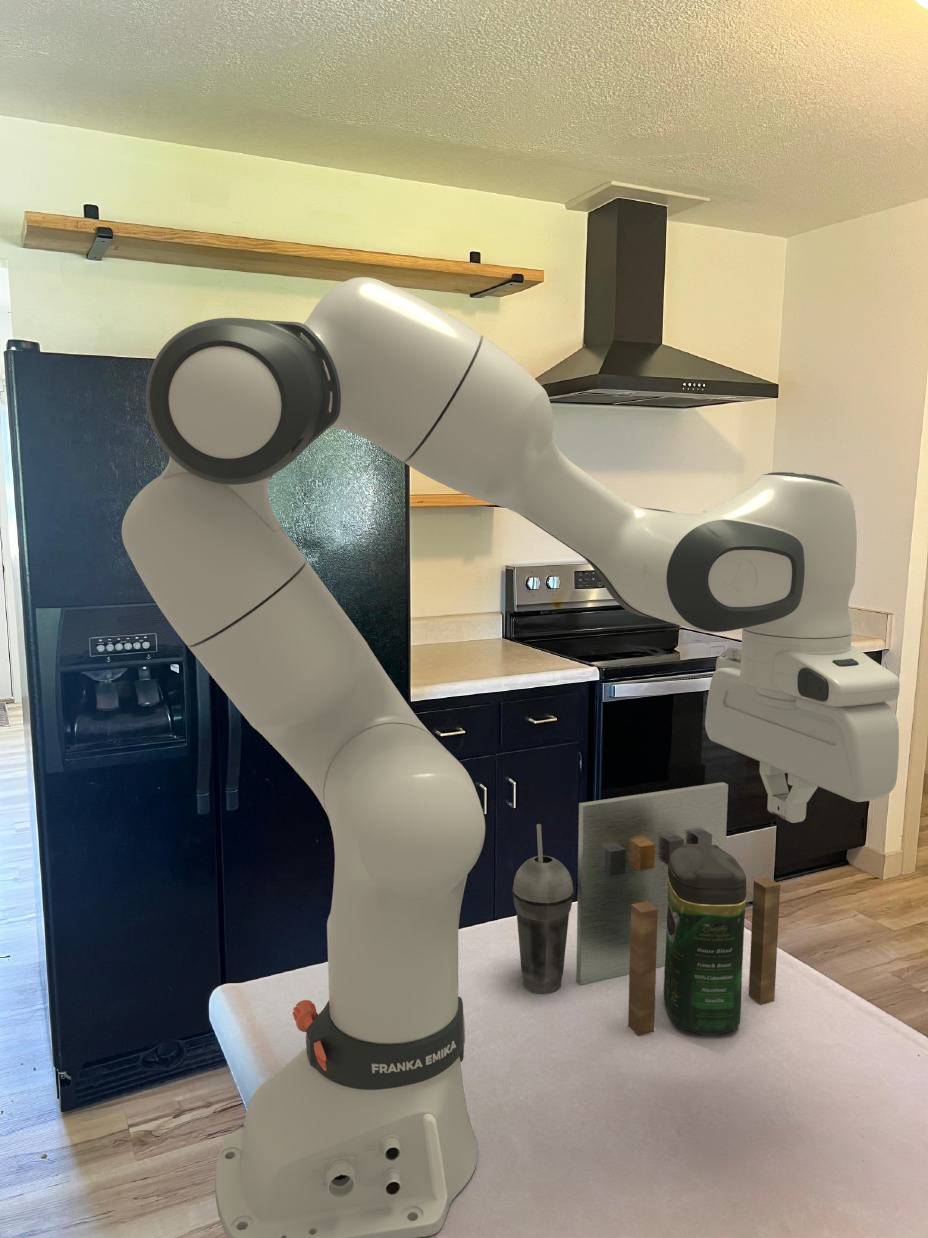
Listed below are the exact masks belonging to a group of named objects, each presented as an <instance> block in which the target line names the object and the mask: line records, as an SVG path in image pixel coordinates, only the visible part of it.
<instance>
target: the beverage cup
mask: <svg viewBox="0 0 928 1238" xmlns="http://www.w3.org/2000/svg"><path fill="white" fill-rule="evenodd" d="M536 835H537V836H536V837H537V838H536V839H537V855H536V856H533V857H531V858H529V859H527V860H525V861H524V863H522V864H521V865H520V867H518V869H517V871H516V873H515V875H514V879H513V885H512V888H511V893H512V895H513V904H514V908H515V910H516V920H517V922H516V923H517V932H518V934H517V935H518V944H519V946H518V947H519V958H520V969H521V974H522V979H523V980H522V982H523V983H522V985H523V986H524V988H525V989H526V990H527V991H529V992H531V993H534V994H539V995H547V994H552V993H555V992H558V990H560V988H561V987H562V979H563V975H564V967H565V955H566V948H567V947H566V946H567V938H568V937H567V936H568V928H569V927H568V926H569V917H570V913H571V909H572V906H573V905H572V904H573V898H574V897H575V889H574V886H573V884H574V883H573V879H572V876H571V874H570V872H569V870H568V869H567V867H566V866H565V865H564V864H563V863H562V862H561V861H560V860H559V859H556V858H555V857H553V856H548V855H543V840H542V839H543V838H542V837H543V836H542V824H540V823H538V824H536Z"/></svg>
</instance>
